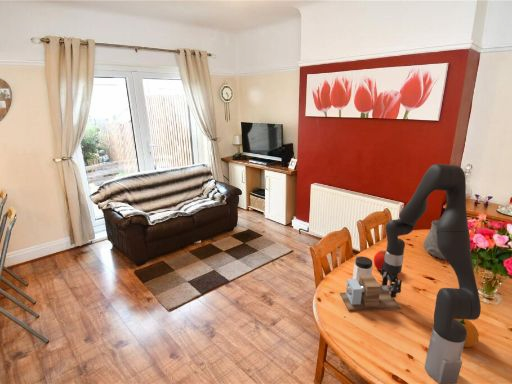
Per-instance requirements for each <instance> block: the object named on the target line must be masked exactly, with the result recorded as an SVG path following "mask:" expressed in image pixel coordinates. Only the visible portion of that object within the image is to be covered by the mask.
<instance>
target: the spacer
mask: <svg viewBox="0 0 512 384" xmlns="http://www.w3.org/2000/svg"><path fill="white" fill-rule="evenodd" d="M347 286H350V288H351V289H352V293H347ZM345 293H346V295H347V297H348V298H349V300H350V302H351V304H352V305H353V304H361V296H362V288H361V286H360V285H359V283H358V282H357V280H356V279H353V278H347V279H346V290H345Z"/></svg>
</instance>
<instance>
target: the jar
mask: <svg viewBox="0 0 512 384" xmlns="http://www.w3.org/2000/svg"><path fill="white" fill-rule="evenodd" d="M352 272H353V273H352V279H356V280H357V282H358V283H359V278H360V275H372V274H373V260H372V259H371V258H369V257H367V256H361V255H360V256H357V257H356V258H355V262H354V264H353V271H352Z"/></svg>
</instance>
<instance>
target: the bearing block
mask: <svg viewBox="0 0 512 384" xmlns="http://www.w3.org/2000/svg"><path fill="white" fill-rule="evenodd" d="M359 285H360V286H363V287H364V288H365V289H364V293H362V296H361V304H353V305H352V304H351V302H350V300H349V298H348V297H347V295H346V292H340V293H339V295H340V296H341V298H342V302H343V303H344V306H345V307H346V309H347V311H348V312H369V311H371V312H373V311H398V310H399V311H400V310H401V309H402V307H401V306H400V304H399V303H398V302H397V300H396V299H395V298H391V296H390V295H391V292H380V289H381V286H380V283H379V282H378V281H377V280H376V278H375V277H374V275H360V278H359Z"/></svg>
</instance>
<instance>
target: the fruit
mask: <svg viewBox="0 0 512 384" xmlns="http://www.w3.org/2000/svg"><path fill="white" fill-rule="evenodd" d="M455 320H457V321H459V322H460V323H461V324H463V326H464V327H465V328H466V330H467V336H466V339H465V343H464V347H463V348H471V347H473V346H475V345H476V344H477V343H478V341H479V337H480V334H479V331H478V328H477V327H476V326H475V324H474V323H472V322H471V321H470V320H468V319H455Z"/></svg>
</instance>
